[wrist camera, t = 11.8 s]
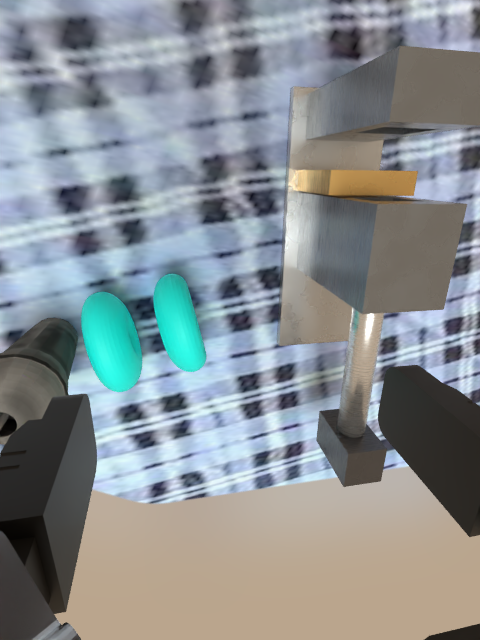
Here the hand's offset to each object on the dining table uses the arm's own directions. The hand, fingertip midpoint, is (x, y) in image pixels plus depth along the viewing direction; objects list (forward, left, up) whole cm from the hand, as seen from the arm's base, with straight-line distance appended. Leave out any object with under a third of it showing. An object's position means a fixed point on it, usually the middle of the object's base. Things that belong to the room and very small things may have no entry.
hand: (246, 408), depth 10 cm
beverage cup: (+11, -14, -32) cm, 37 cm away
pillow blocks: (0, +16, -32) cm, 36 cm away
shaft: (+10, +16, -25) cm, 31 cm away
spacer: (-5, +16, -31) cm, 35 cm away
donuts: (+9, -4, -32) cm, 34 cm away
